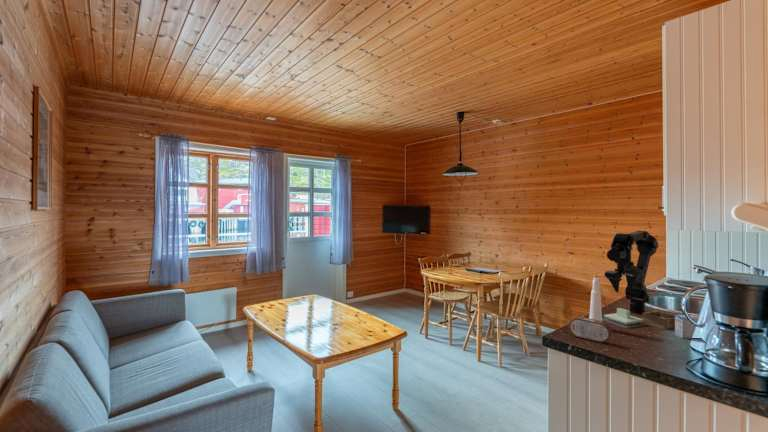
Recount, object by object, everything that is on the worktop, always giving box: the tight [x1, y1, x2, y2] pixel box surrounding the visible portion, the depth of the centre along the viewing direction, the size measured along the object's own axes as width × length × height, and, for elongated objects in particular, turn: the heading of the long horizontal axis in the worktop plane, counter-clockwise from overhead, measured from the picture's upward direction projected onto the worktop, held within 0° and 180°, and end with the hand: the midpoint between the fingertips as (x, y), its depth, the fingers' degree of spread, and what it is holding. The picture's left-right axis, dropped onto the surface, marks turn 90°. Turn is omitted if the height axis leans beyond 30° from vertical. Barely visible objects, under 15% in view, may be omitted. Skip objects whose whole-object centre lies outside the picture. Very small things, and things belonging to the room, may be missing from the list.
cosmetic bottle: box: [588, 277, 603, 321], centre depth 155 cm, size 6×6×22 cm
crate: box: [641, 310, 675, 331], centre depth 158 cm, size 10×10×4 cm
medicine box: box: [674, 314, 700, 339], centre depth 143 cm, size 8×4×9 cm, turn 84°
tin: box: [568, 316, 613, 343], centre depth 141 cm, size 15×3×8 cm, turn 47°
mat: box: [602, 317, 648, 329], centre depth 161 cm, size 13×13×1 cm
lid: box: [603, 307, 644, 325], centre depth 161 cm, size 11×11×6 cm
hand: (623, 290), depth 169 cm, fingers open, 9 cm apart
